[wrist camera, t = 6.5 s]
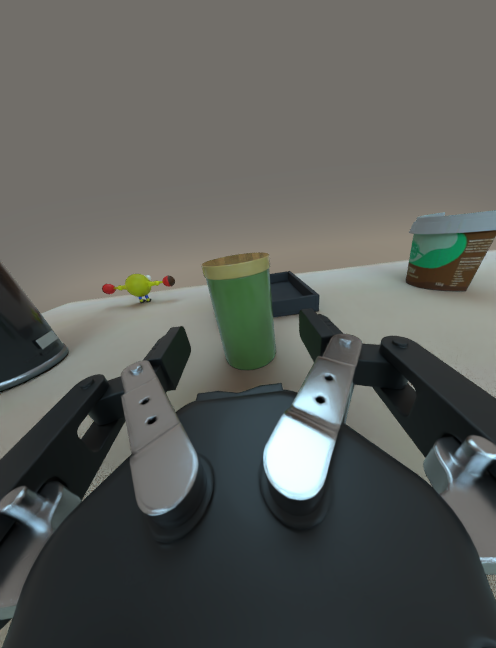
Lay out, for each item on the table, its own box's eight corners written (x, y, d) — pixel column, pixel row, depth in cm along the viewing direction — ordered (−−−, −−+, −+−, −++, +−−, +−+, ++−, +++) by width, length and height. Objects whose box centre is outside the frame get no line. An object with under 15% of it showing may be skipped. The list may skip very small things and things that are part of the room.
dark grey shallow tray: (217, 325, 27) (214, 310, 26) (226, 291, 42) (224, 280, 41) (318, 310, 27) (319, 294, 25) (290, 281, 42) (290, 270, 41)
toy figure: (184, 293, 45) (176, 266, 42) (175, 301, 41) (165, 271, 37) (120, 301, 48) (108, 276, 45) (105, 309, 43) (89, 282, 40)
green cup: (222, 374, 17) (194, 270, 13) (226, 341, 23) (207, 259, 18) (281, 366, 17) (274, 258, 13) (272, 335, 22) (264, 250, 18)
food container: (386, 275, 37) (398, 218, 32) (424, 272, 35) (442, 212, 30) (418, 296, 26) (442, 217, 22) (474, 294, 24) (514, 208, 20)
